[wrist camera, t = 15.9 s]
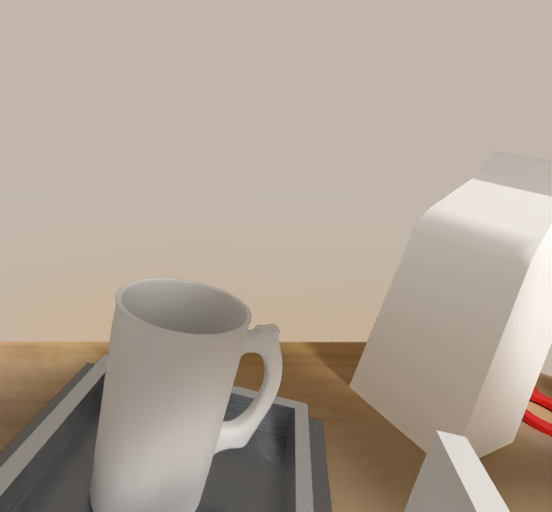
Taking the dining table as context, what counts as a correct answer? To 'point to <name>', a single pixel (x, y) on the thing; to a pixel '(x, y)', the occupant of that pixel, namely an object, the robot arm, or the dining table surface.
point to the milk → (468, 311)
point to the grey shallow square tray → (222, 474)
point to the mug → (174, 393)
